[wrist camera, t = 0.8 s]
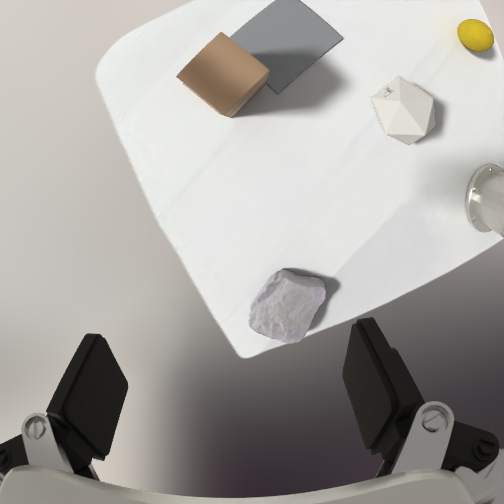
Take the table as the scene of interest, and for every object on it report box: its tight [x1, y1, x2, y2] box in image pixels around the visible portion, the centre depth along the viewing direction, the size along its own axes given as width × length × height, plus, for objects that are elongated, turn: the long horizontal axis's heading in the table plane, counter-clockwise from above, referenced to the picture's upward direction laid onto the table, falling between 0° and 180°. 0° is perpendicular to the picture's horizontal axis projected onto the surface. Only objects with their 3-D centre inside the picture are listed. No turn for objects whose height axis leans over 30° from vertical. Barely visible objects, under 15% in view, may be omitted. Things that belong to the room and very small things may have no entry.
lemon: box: [458, 19, 494, 51], centre depth 21 cm, size 6×6×8 cm
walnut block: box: [176, 32, 270, 118], centre depth 27 cm, size 6×6×11 cm
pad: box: [230, 0, 343, 94], centre depth 28 cm, size 13×10×1 cm
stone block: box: [249, 269, 326, 343], centre depth 44 cm, size 12×5×10 cm
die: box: [371, 76, 436, 145], centre depth 29 cm, size 8×9×10 cm
